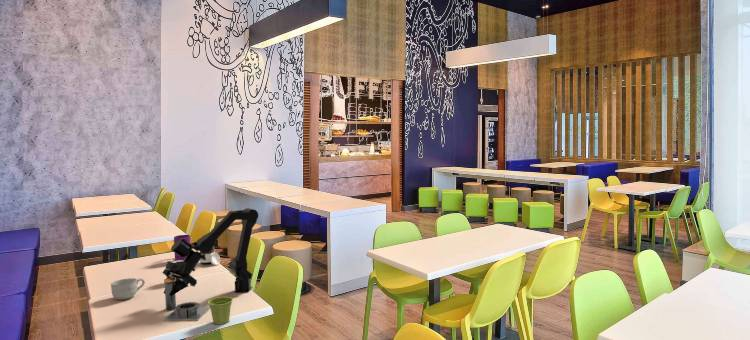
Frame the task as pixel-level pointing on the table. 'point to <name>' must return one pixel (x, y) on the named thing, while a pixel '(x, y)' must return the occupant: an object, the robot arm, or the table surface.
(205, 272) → the table surface
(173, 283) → the copper capped metal cylinder
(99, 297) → the table surface
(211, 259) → the spread jar
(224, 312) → the plant pot
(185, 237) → the purple box
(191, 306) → the rosette collar
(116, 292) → the teacup
